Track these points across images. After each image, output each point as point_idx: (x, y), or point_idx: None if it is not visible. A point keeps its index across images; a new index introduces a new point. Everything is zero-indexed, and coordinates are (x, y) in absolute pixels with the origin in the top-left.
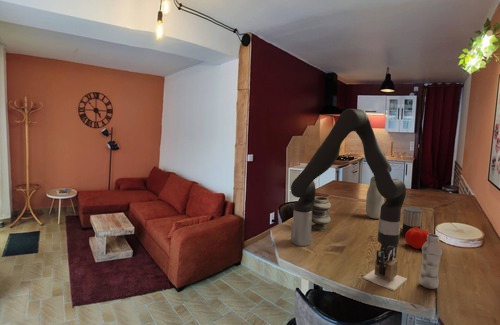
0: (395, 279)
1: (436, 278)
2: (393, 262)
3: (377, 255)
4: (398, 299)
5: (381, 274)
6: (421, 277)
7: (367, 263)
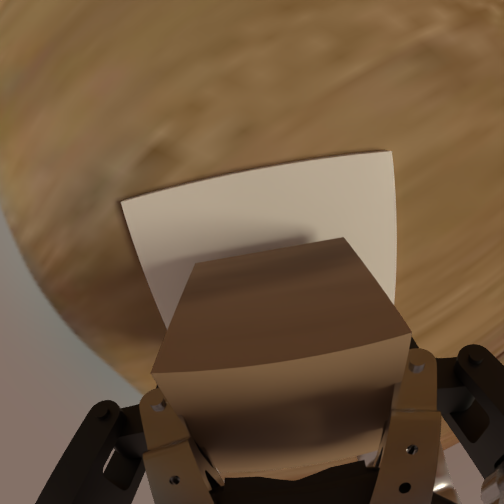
0: None
1: None
2: (303, 462)
3: (49, 499)
4: None
5: None
6: None
7: (400, 47)
